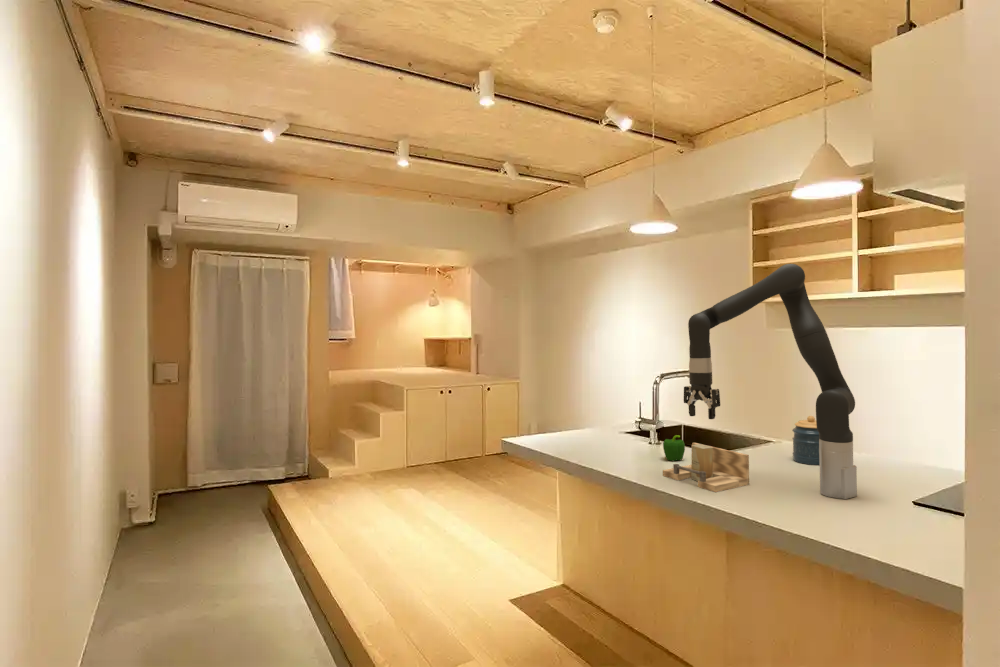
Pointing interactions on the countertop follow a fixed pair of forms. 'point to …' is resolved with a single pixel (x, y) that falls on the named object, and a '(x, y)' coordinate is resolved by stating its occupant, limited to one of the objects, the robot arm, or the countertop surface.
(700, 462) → the skincare box
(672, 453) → the bell pepper
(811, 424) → the canister
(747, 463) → the wooden stand with handle
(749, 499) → the countertop surface
